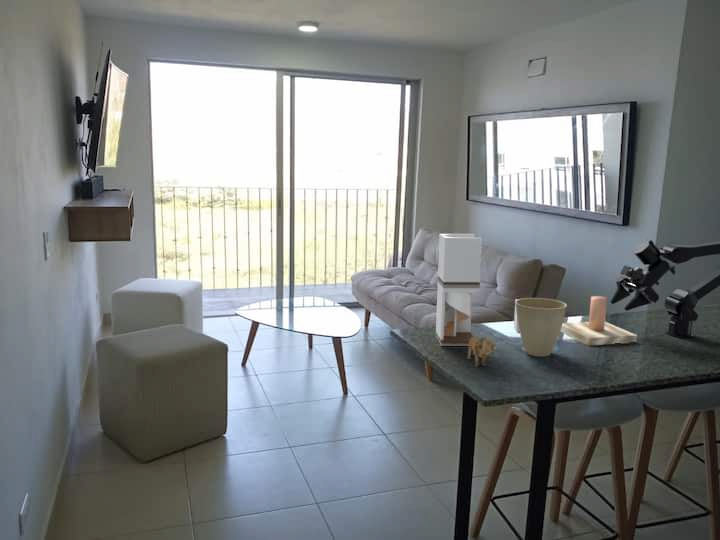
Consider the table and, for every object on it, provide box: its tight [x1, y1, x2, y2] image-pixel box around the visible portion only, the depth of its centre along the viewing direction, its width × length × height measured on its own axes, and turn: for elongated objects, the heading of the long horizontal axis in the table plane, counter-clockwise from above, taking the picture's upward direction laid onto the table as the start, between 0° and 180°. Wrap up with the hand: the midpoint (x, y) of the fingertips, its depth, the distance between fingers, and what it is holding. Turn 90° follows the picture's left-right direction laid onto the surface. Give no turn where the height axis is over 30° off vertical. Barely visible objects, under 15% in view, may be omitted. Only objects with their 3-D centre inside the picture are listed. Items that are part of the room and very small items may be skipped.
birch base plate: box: [560, 321, 638, 346], centre depth 198 cm, size 18×18×2 cm
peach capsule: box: [588, 295, 608, 331], centre depth 197 cm, size 5×5×11 cm
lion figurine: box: [465, 336, 498, 366], centre depth 170 cm, size 15×5×9 cm, turn 17°
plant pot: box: [516, 297, 567, 358], centre depth 178 cm, size 15×15×16 cm
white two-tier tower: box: [435, 233, 483, 347], centre depth 187 cm, size 11×11×35 cm
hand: (618, 306), depth 197 cm, fingers open, 9 cm apart
